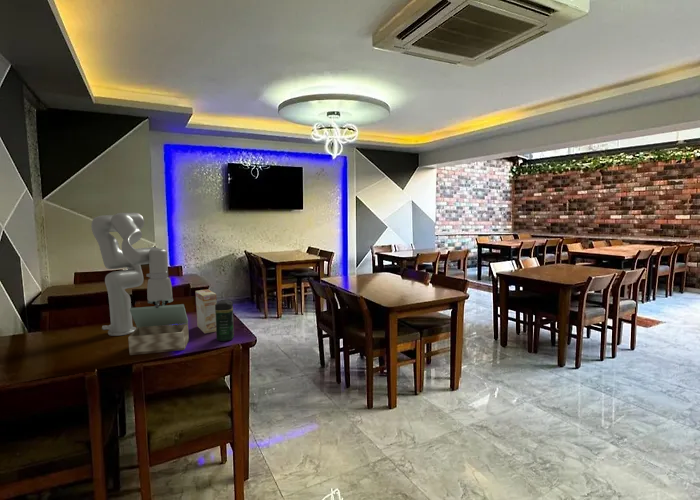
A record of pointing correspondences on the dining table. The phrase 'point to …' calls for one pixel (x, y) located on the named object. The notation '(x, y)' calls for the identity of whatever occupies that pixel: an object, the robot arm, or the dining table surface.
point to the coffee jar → (224, 320)
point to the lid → (159, 315)
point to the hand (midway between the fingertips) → (161, 314)
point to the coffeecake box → (206, 310)
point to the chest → (158, 339)
